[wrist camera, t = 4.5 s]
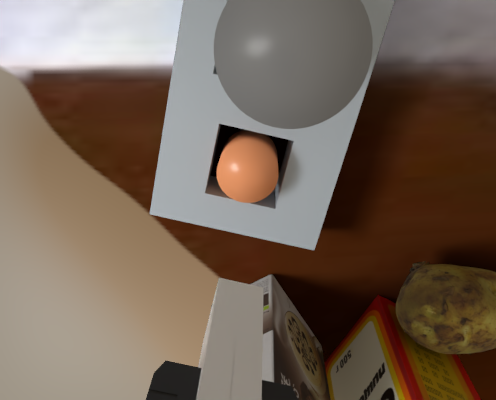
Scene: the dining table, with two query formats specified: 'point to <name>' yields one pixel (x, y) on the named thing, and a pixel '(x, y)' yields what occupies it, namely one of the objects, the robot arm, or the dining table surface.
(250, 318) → the robot arm
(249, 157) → the orange egg
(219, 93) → the housing
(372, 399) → the baking soda box
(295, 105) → the cartridge
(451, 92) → the dining table surface
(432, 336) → the potato
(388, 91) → the dining table surface
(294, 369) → the coffee box
